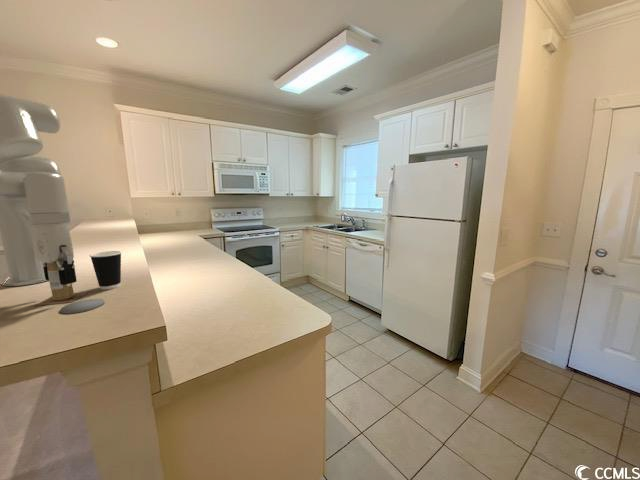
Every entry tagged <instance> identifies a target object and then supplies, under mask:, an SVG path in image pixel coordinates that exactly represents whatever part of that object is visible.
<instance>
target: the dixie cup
mask: <svg viewBox="0 0 640 480" xmlns="http://www.w3.org/2000/svg"><path fill="white" fill-rule="evenodd" d="M122 253H123V251H122V250H108V251H107V250H106V251H99V252H95V253H91V254H89V257H90V259H91V263H92V266H93V271H94V272H95V278H96V281H97V284H98V286H99V287H100V290H111V289H117V288H118V287H120V284H121V280H122V278H121V277H122V276H121V274H122V273H121V272H122V271H121V269H122Z"/></svg>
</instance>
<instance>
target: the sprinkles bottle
mask: <svg viewBox="0 0 640 480" xmlns="http://www.w3.org/2000/svg"><path fill="white" fill-rule="evenodd" d="M60 253H61V251H60ZM62 265H63V262H62ZM47 268H48V277H49V280H48V282H49V287H50V289H51V290H50V291H51V297H52V296H53V297H52V299H53V300H56V301H57V300H65V299H69V298H71V297H73V296H74V293H75V292H74V290H73V283H70V284H66V285H61V284H60V279H59V273H58V270H60V269H59V267H58V265H57V263H56V261H54V262H53V263H47Z"/></svg>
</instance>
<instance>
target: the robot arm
mask: <svg viewBox="0 0 640 480" xmlns="http://www.w3.org/2000/svg"><path fill="white" fill-rule="evenodd" d="M58 115H59V114H58V113H57V112H56V110H55V109H54V108H53V107H51V106H50V105H47V104H44V103H40V102H36V101H32V100H27V99H23V98H19V97H14V96H10V95H5V94H0V237H1V238H0V239H1V243H2V247H3V252H4V258H5V262H6V263H5V264H6V268H7V274H8V278H7V279H8V280H7V279H4V280H3V281H1V282H2V284H3V283H4V282H5V281H6V280H7V281H6V282H5V283H4V285H3V286H5V287H18V286H28V285H34V284H40V283H45V282H47V281H48V282H49V277H48V268H47V263H53V262H54V261H56V263H57V265H58V267H59V269H60V270H58V273H59V279H60V284H61V285H66V284H70V283H72V284H74V283H76V282H77V281H78V280H77V275H76V269H75V268H76V266H75V260H74V257H75V255H74V248H73V241H72V238H71V234H70V230H69V226H68V225H71V224H72V222H71V217H70V209H69V203H68V197H67V191H66V184H65V179H64V177H63V176H62V174H61V170H60V167H59V165H58V164H57V163H56V162H55V161H54V160H52V159H50V158H47V157H41V156H34V155H37V154H38V153H40V152H42V150H43V147H44V144H43V141H42V139H41V136H40V134H39V133H40V132H41V133H46V134H57V133H58V132H59V131H60V129H61V121H60V118H59V116H58ZM60 251H61V253H60ZM62 262H63V265H62ZM9 277H10V278H9Z"/></svg>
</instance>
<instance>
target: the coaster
mask: <svg viewBox="0 0 640 480" xmlns="http://www.w3.org/2000/svg"><path fill="white" fill-rule="evenodd" d="M104 304H105V300H104V299H102V298H89V299H83V300H78V301H74V302H71V303H68V304H67V305H66V304H65V305H64V306H62V307H61V308H60V312H61V313H62V314H64V315H65V314H69V315H71V314H78V313H83V312H89V311H92V310H95V309H97V308H100V307H102V306H104Z"/></svg>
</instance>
